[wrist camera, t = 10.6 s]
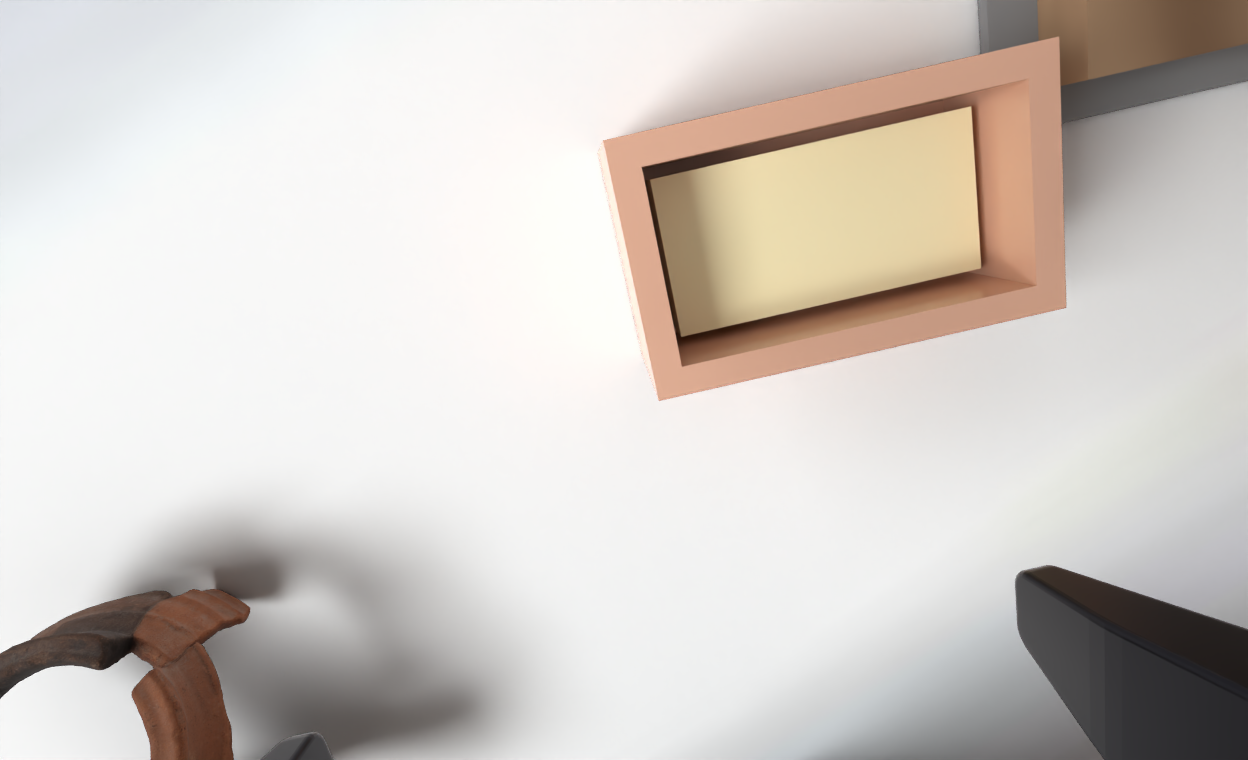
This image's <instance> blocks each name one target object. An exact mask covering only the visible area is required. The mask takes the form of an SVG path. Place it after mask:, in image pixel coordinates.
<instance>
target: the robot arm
mask: <svg viewBox="0 0 1248 760" xmlns="http://www.w3.org/2000/svg"><path fill="white" fill-rule="evenodd" d="M1015 591H1016V610H1017V626H1018V631H1019V634H1020V637H1021V639H1022V641H1023V643H1024V645H1025V647H1026V648H1027V650H1028V651H1029V653H1030V654H1031V655H1032V657H1033V658H1034V660H1035V661H1036V663H1037V664H1038V666H1039V667H1040V668H1041V670H1042V671H1043V673H1044V674H1045V676H1046V677H1047V679H1048V680H1049V681H1050V683H1051V684H1052V686H1053V687H1054V689H1055V690H1056V692H1057V693H1058V694H1059V696H1060V697H1061V699H1062V700H1063V702H1064V703H1065V705H1066V706H1067V707H1068V709H1069V710H1070V712H1071V713H1072V715H1073V716H1074V718H1075V719H1076V720H1077V722H1078V723H1079V725H1080V726H1081V728H1082V729H1083V731H1084V732H1085V733H1086V735H1087V736H1088V738H1089V739H1090V741H1091V742H1092V743H1093V745H1094V746H1095V748H1096V749H1097V750H1098V752H1099V753H1100V754H1101V756H1102V757H1103V758H1104V760H1248V629H1246V628H1243V627H1240V626H1236V625H1233V624H1230V623H1227V622H1224V621H1221V620H1218V619H1215V618H1212V617H1209V616H1206V615H1203V614H1200V613H1197V612H1194V611H1191V610H1188V609H1185V608H1181V607H1178V606H1175V605H1172V604H1169V603H1166V602H1163V601H1160V600H1157V599H1154V598H1151V597H1148V596H1145V595H1142V594H1139V593H1136V592H1133V591H1130V590H1126V589H1123V588H1120V587H1117V586H1114V585H1111V584H1108V583H1105V582H1102V581H1099V580H1096V579H1093V578H1090V577H1087V576H1084V575H1081V574H1078V573H1075V572H1071V571H1068V570H1065V569H1062V568H1059V567H1056V566H1052V565H1046V566H1041V567H1037V568H1032V569H1028V570H1023V571H1021V572H1020V573H1018V575H1017V576H1016V579H1015ZM261 760H333V757H332V755H331V753H330V750H329V748H328V746H327V743H326V741H325V739H324V737H323V736H322V735H321V734H320V733H318V732H309V733H305V734H300V735H296V736H291V737H288V738H286V739H284V740H282V741H281V742H280V743H279V744H277V745H276V746H275V747H274V748H273V749H272V750H271V751H270V752H269V753H267V754H266V755H265V756H264V757H263V758H262V759H261Z"/></svg>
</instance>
